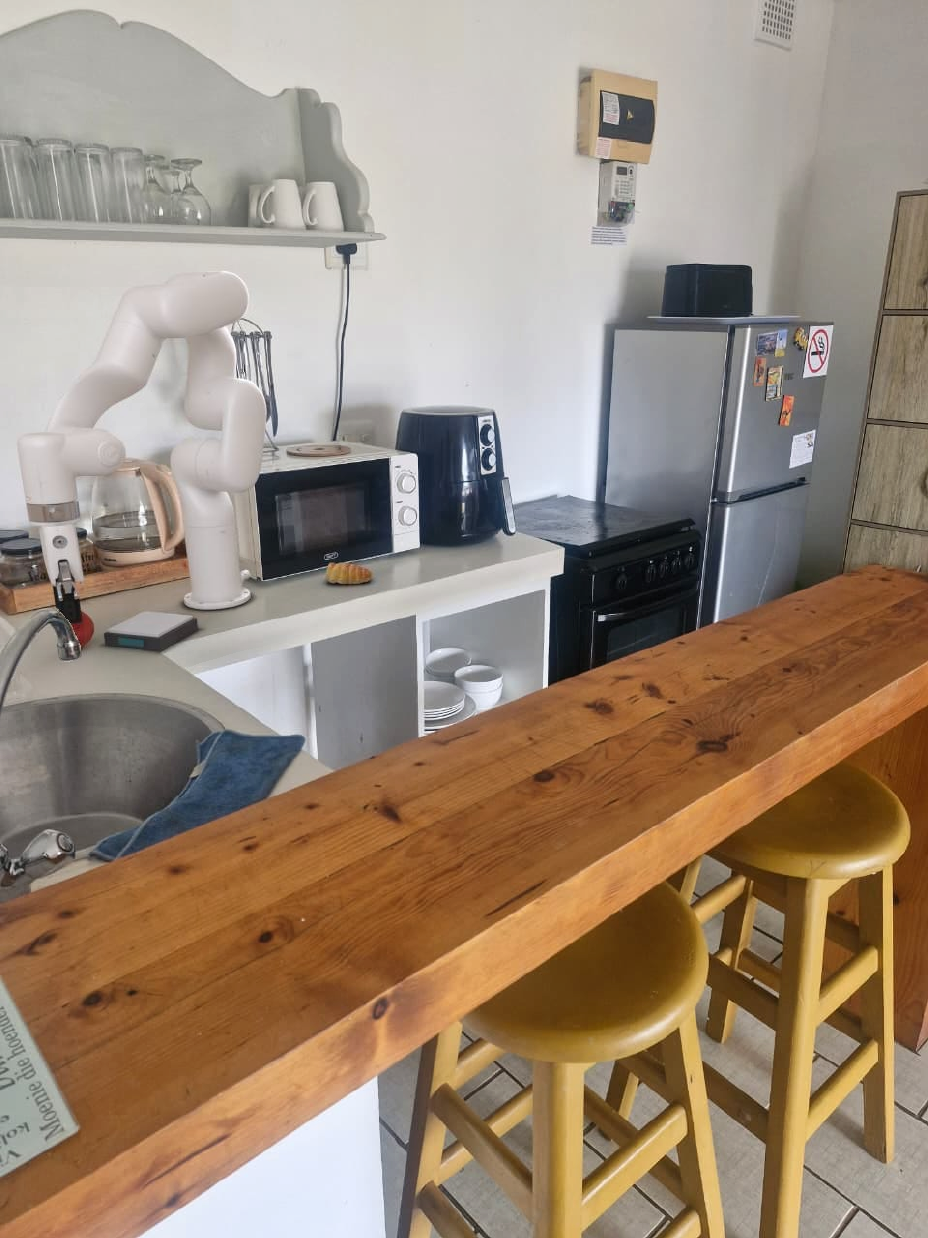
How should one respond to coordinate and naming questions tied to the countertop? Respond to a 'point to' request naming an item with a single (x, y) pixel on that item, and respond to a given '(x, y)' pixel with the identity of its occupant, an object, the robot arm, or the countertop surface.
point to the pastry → (347, 573)
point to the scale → (151, 631)
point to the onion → (84, 630)
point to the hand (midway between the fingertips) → (69, 615)
